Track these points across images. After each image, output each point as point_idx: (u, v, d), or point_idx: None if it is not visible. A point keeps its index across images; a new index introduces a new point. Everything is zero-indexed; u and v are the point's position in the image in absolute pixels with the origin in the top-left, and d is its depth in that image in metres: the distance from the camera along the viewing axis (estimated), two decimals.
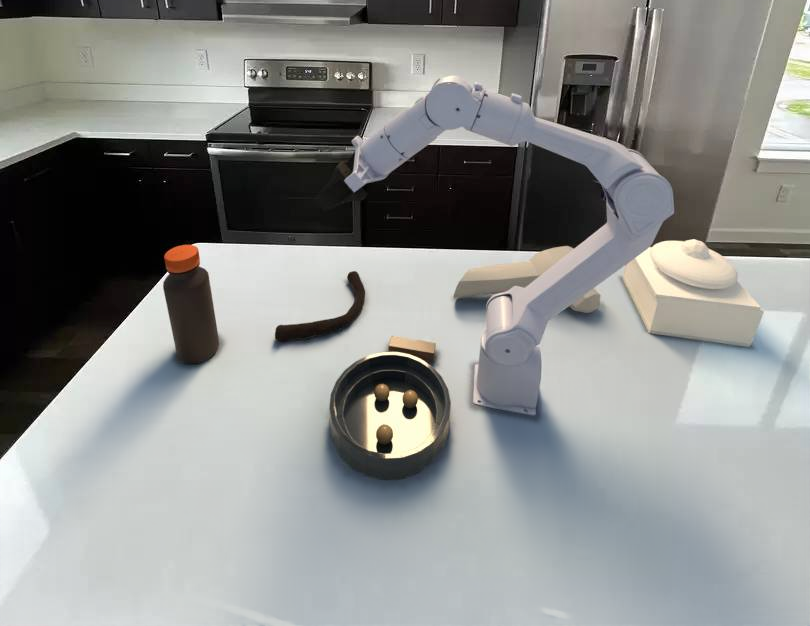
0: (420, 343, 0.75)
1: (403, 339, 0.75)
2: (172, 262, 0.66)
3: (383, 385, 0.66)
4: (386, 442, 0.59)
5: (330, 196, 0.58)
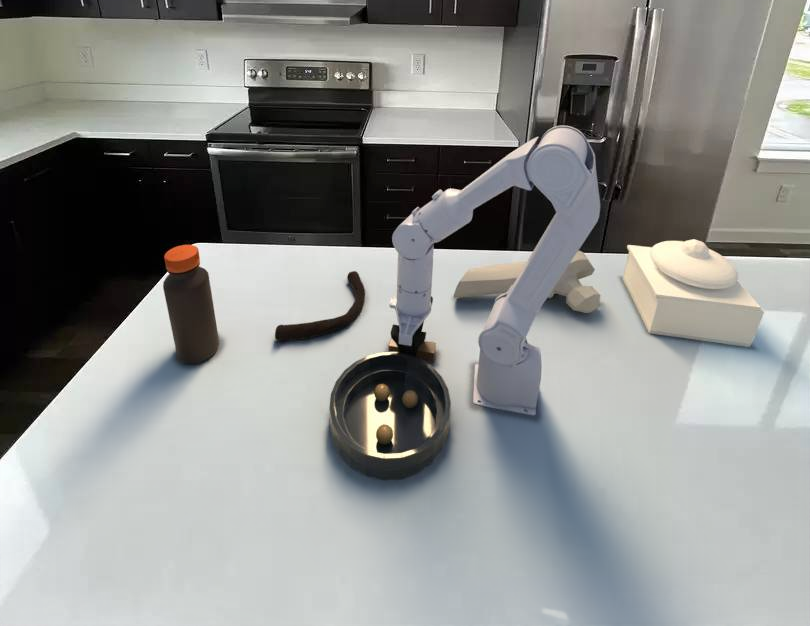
0: None
1: None
2: (172, 262, 0.66)
3: (383, 385, 0.66)
4: (386, 442, 0.59)
5: (407, 352, 0.70)
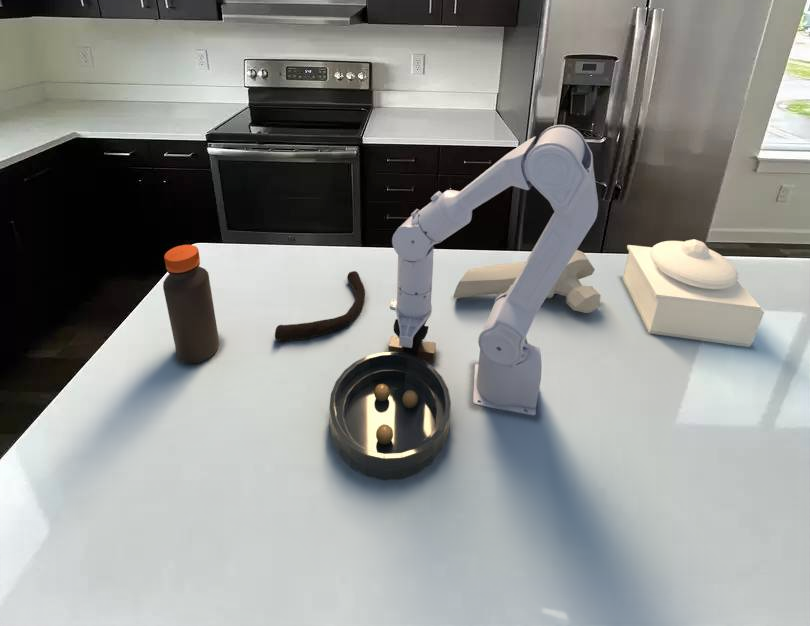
0: None
1: None
2: (172, 262, 0.66)
3: (383, 385, 0.66)
4: (386, 442, 0.59)
5: None
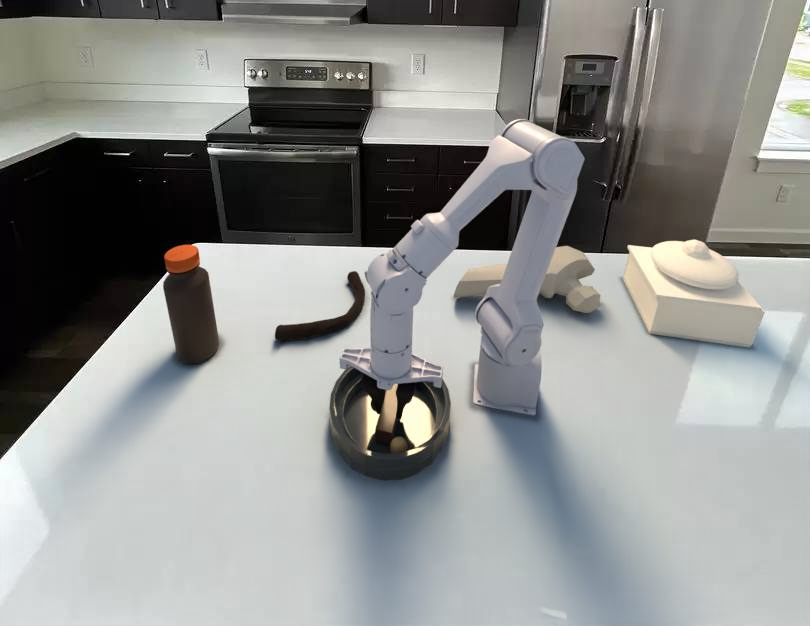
0: (389, 397, 0.64)
1: (382, 415, 0.61)
2: (172, 262, 0.66)
3: None
4: None
5: None
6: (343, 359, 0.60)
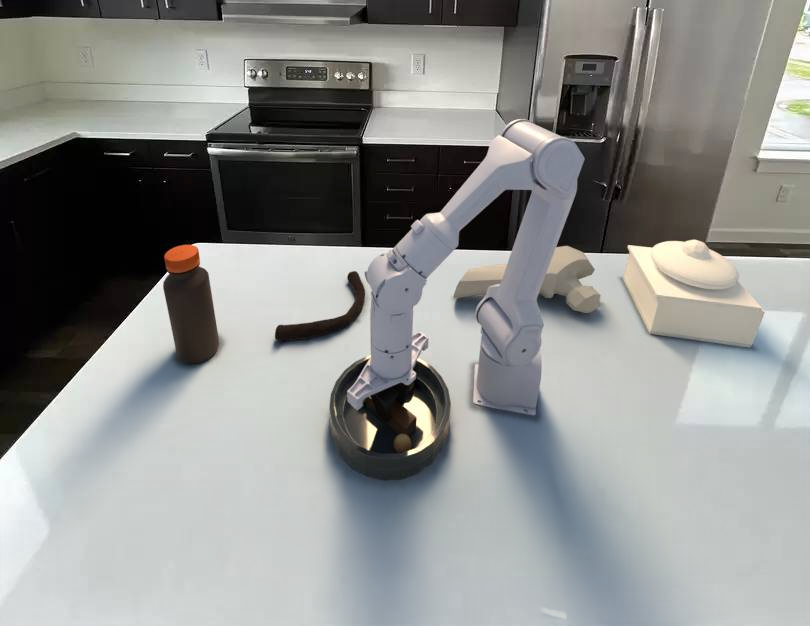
0: None
1: (395, 416, 0.61)
2: (172, 262, 0.66)
3: None
4: (394, 447, 0.58)
5: None
6: (360, 397, 0.54)
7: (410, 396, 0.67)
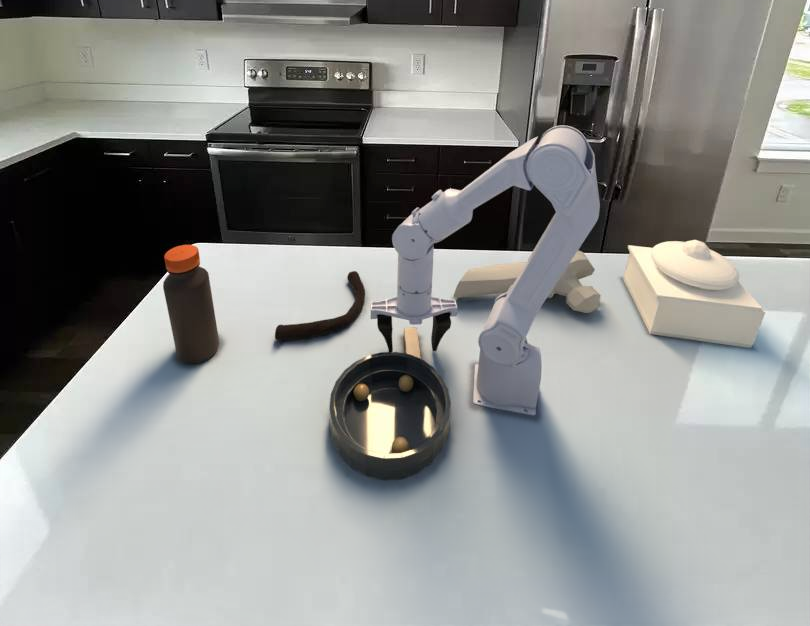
0: (408, 338, 0.76)
1: (408, 352, 0.73)
2: (172, 262, 0.66)
3: None
4: None
5: None
6: (374, 310, 0.70)
7: (410, 396, 0.67)
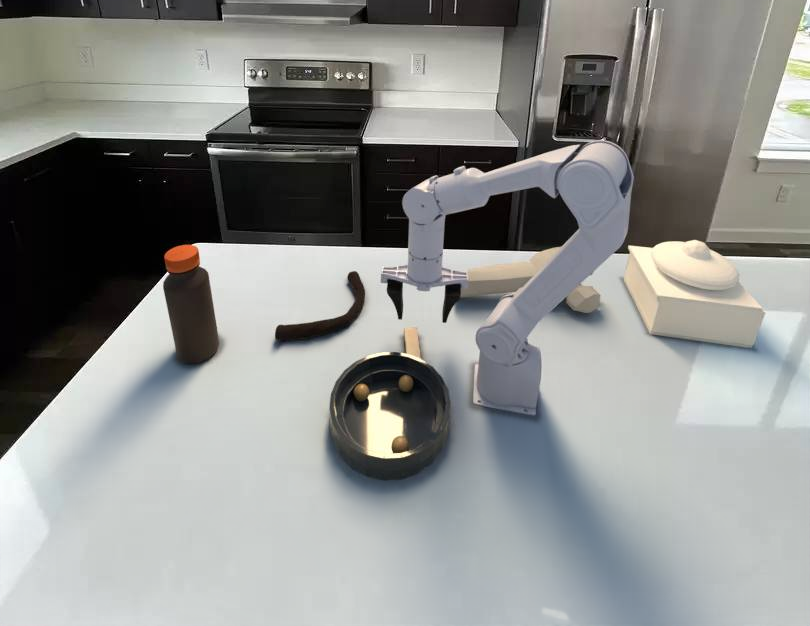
0: (408, 338, 0.76)
1: (408, 352, 0.73)
2: (172, 262, 0.66)
3: None
4: None
5: None
6: (384, 274, 0.71)
7: (410, 396, 0.67)
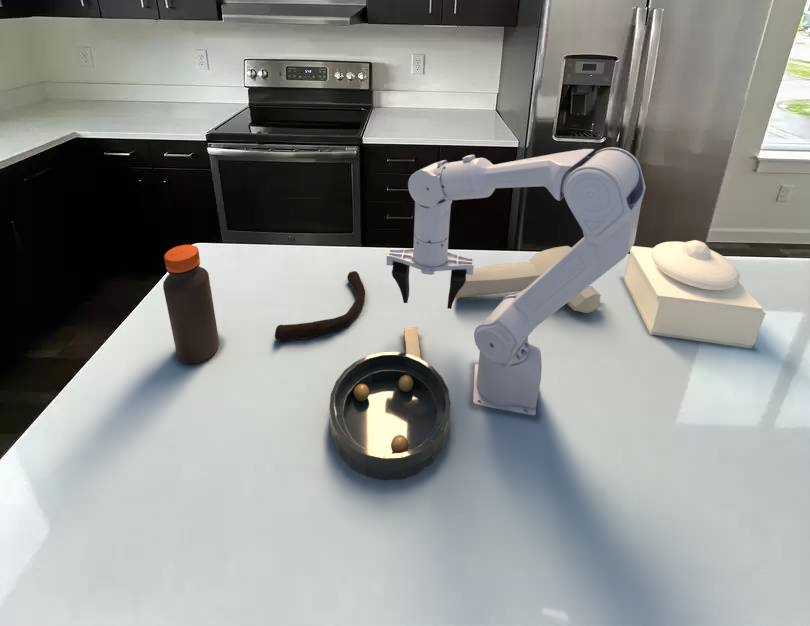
0: (408, 338, 0.76)
1: (408, 352, 0.73)
2: (172, 262, 0.66)
3: None
4: None
5: None
6: (389, 256, 0.71)
7: (410, 396, 0.67)
